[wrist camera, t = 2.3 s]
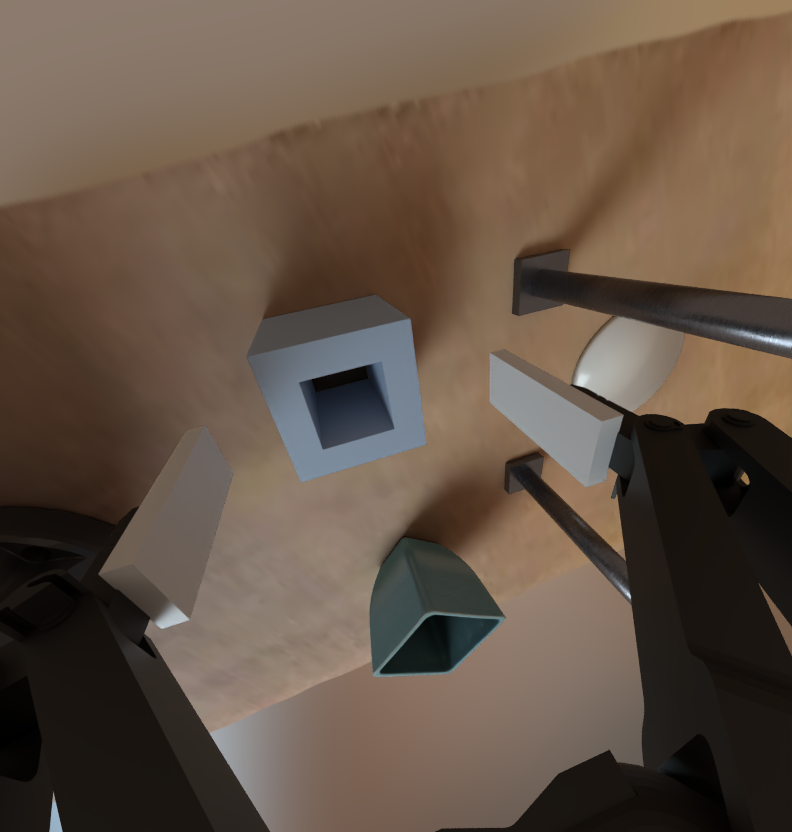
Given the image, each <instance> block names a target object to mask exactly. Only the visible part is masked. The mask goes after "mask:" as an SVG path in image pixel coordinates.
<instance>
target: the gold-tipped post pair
mask: <svg viewBox="0 0 792 832" xmlns="http://www.w3.org/2000/svg"><path fill="white" fill-rule="evenodd" d="M569 254H570V249H560V250H555V251H550V252H546V253H541V254H537V255H532V256H527V257H523V258H518V259H515V262H514V285H513V307H512V314H515V315H518V316H521V315H525V314H529V313H533V312H537V311H541V310H545V309H549V308H553V307H557V306H561V305H563V304H568V305H572V306H576V307H580V308H584V309H588V310H592V311H596V312H601V313H605V314H609V315H613V316H617V317H621V318H625V319H630V320H634V321H638V322H642V323H646V324H650V325H654V326H658V327H663V328H667V329H671V330H675V331H679V332H683V333H687V334H691V335H696V336H700V337H704V338H708V339H712V340H716V341H720V342H725V343H729V344H733V345H737V346H741V347H745V348H749V349H753V350H758V351H762V352H766V353H770V354H774V355H778V356H782V357H787V358H791V359H792V299H789V298H781V297H772V296H764V295H756V294H748V293H739V292H731V291H723V290H715V289H706V288H698V287H690V286H682V285H673V284H665V283H657V282H649V281H640V280H632V279H624V278H616V277H607V276H599V275H591V274H582V273H574V272H567V270H568V262H569ZM542 465H543V456H542V455H541V454H540V453H538V452H537V453H534V454H531V455H528V456H525V457H522V458H519V459H516V460H513V461H510V462H507V463H506V465H505V488H504V489H505V490H506V492H507V493H508V494H512V493H515V492H518V491H520V490H523V489H526V491H527V492H528V493H529V494H530V495H531V496H532V497H533V498H534V499H535V500H536V501H537V503H538V504H539V505H540V506H541V507H542V508H543V509H544V510H545V511H546V512H547V513H548V515H549V516H550V517H551V518H552V519H553V520H554V521H555V522H556V523H557V524H558V525H559V527H560V528H561V529H562V530H563V531H564V532H565V533H566V534H567V535H568V536H569V538H570V539H571V540H572V541H573V542H574V543H575V544H576V545H577V546H578V547H579V548H580V550H581V551H582V552H583V553H584V554H585V555H586V556H587V557H588V558H589V559H590V560H591V562H593V564H594V565H595V566H596V567H597V568H598V569H599V570H600V571H601V573H602V574H603V575H604V576H605V577H606V578H607V579H608V580H609V581H610V582H611V583H612V585H613V586H614V587H615V588H616V589H617V590H618V591H619V592H620V593H621V594H622V595H623V596H624V597H625V599H626V600H627V601H628V602H629V603H630V604H631V596H630V588H629V580H628V573H627V565H626V561H625V560H624V559H623V558H622V557H621V556H620V555H619V554H618V553H617V552H616V551H615V550H614V549H613V548H612V547H611V546H610V545H609V544H608V543H607V542H606V541H605V540H604V539H603V538H602V537H601V536H600V535H599V534H598V533H597V532H596V531H595V530H594V529H592V528H591V527H590V526H589V525H588V524H587V523H586V522H585V521H584V520H583V519H582V518H581V517H580V516H579V515H578V514H577V513H576V512H575V511H574V510H573V509H572V508H571V507H570V506H569V505H568V504H567V503H566V502H565V501H564V500H563V499H562V498H561V497H560V496H559V495H558V494H557V493H556V492H555V491H554V490H553V489H552V488H551V487H550V486H549V485H548V484H546V483H545V482H544V481H543V480H542V479H541V473H542ZM631 605H632V604H631Z"/></svg>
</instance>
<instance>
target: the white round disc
mask: <svg viewBox="0 0 792 832" xmlns="http://www.w3.org/2000/svg"><path fill="white" fill-rule="evenodd" d="M683 341H684V333H683V332H679V331H675V330H671V329H667V328H663V327H658V326H654V325H650V324H646V323H642V322H638V321H634V320H630V319H625V318H621V317H617V316H614V317H613V318H611V319H610V320H609V321H608V322H607V323H606V324H605V325H603V326H602V327H601V329H600V330H599V331H598V332H597V333H596V334H595V335H594V337H593V338H592V339H591V340H590V342H589V343H588V345H587V346H586V348H585V349H584V351H583V353H582V355H581V356H580V359H579V361H578V363H577V366H576V368H575V371H574V375H573V380H572V384H573V385H577V386H580V387H584V388H587V389H589V390H591V391H593V392H595V393H596V394H597V395H600V396H602V397H604V398H606V400H610V401H612V402H613V403H615V404H617V405H619V406H621V407H623V408H625V409H627V410H629V411H630V412H632V411H634V410H635V409H637V408H638V407H640V406H641V405H642V404H644V403H645V402H646V401H647V400H648V399H649V398H650V397H652V396H653V395H654V394H655V393H656V391H657V390H658V389H659V388H660V387H661V386H662V384H663V383H664V382H665V381H666V379H667V378H668V376H669V375H670V373H671V371H672V370H673V368H674V366H675V364H676V362H677V360H678V358H679V355H680V353H681V349H682V346H683Z"/></svg>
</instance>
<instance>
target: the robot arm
mask: <svg viewBox="0 0 792 832" xmlns="http://www.w3.org/2000/svg"><path fill="white" fill-rule="evenodd" d="M490 403H491V404H492V405H493V406H494V407H496V408H497V409H498V410H499V411H500V412H501V413H502V414H503V415H505V416H506V417H507V418H508V419H509V420H510V421H511V422H513V423H514V424H515V425H516V426H517V427H518V428H519V429H520V430H522V431H523V432H524V433H525V434H526V435H527V436H528V437H530V438H531V439H532V440H533V441H534V442H535V443H536V444H537V445H539V446H540V447H541V448H542V449H543V450H544V451H545V452H547V453H548V454H549V455H550V456H551V457H552V458H553V459H554V460H556V461H557V462H558V463H559V464H560V465H561V466H562V467H564V468H565V469H566V470H567V471H568V472H569V473H570V474H571V475H573V476H574V477H575V478H576V479H577V480H578V481H579V482H581V483H582V484H583V485H584V486H585V487H589V486H592V485H595V484H598V483H601V482H604V481H605V480H606V477H607V473H608V469H609V468H611V469H612V470H613V471H615V472H616V473H617V474H618V476H617V479H616V482H615V486H614V489H613V492H612V496H611V498H613V499H615V497H616V494H617V495H618V503H619V511H620V519H621V526H622V534H623V542H624V550H625V557H626V565H627V573H628V580H629V588H630V596H631V604H632V611H633V619H634V626H635V634H636V642H637V650H638V658H639V665H640V673H641V681H642V689H643V696H644V721H643V727H642V753H643V763H644V767H642V766H639V765H633V764H627V763H617V762H616V760H615V758H614V756H613V755H612V753H611V751H610V750H608V751H606V752H604V753H602V754H599V755H597V756H595V757H593V758H591V759H589V760H587V761H585V762H582V763H581V764H578V765H576V766H574V767H572V768H570V769H568V770H565V771H564V772H561V773H559V774H558V775H557V776H556V777H555V778H554V779H553V780H552V782H551V783H550V784H549V785H548V786H547V788H546V789H545V790H544V791H543V792H542V793H541V794H540V795H539V797H538V798H537V799H536V800H535V801H534V802H533V804H532V805H531V806H530V807H529V808H528V809H527V811H526V812H525V813H524V814H523V815H522V816H521V817H520V818H519V820H518V821H517V822H516V823H515V824H514V825H512V826H510V827H507V828H457V829H456V828H453V829H452V828H451V829H440V830H438V831H436V832H792V656H791V653H790V651H789V649H788V647H787V645H786V643H785V640H784V638H783V636H782V634H781V632H780V629H779V627H778V625H777V623H776V621H775V618H774V616H773V614H772V612H771V610H770V608H769V605H768V603H767V601H766V599H765V597H764V595H763V592H762V590H761V588H760V586H759V584H760V585H761V586H762V588H763V589H764V591H765V592H766V593H767V595H768V596H769V597H770V599H771V600H772V601H773V602H774V604H775V605H776V606H777V608H778V609H779V610H780V612H781V613H782V614H783V616H784V617H785V618H786V619H787V621H788V622H789V623H790V625H791V626H792V438H791V437H789V436H788V435H787V434H785V433H784V432H783V431H781V430H780V429H778V428H777V427H776V426H774V425H773V424H772V423H770V422H769V421H767V420H766V419H764V418H762V417H761V416H759V415H756V414H753V413H750V412H748V411H745V410H740V409H728V408H722V409H715V410H712V411H710V412H709V414H708V416H707V419H706V421H705V423H702V424H687V425H684V424H683V423H682V422H680V421H678V420H676V419H674V418H671V417H668V416H663V415H657V414H645V415H641V416H638V415H636V414H634V413H632V412H630V411H629V410H627V409H625V408H623V407H621V406H619V405H617V404H615V403H613V402H612V401H610V400H606V398H604V397H602V396H600V395H597V394H596V393H595V392H593V391H591V390H589V389H587V388H584V387H580V386H577V385H573V384H571V385H568V384H567V383H565V382H563V381H561V380H559V379H558V378H556V377H554V376H552V375H550V374H549V373H547V372H545V371H543V370H541V369H540V368H538V367H536V366H534V365H532V364H530V363H529V362H527V361H525V360H523V359H521V358H520V357H518V356H516V355H514V354H512V353H511V352H509V351H507V350H505V349H503V350H499V351H495V352H491V353H490ZM744 472H745V473H746V474H747V476H748V478H749V481H750V484H749V485H747V484H745V483H744V482H743V481H742V479H741V477H742V475H743V473H744ZM232 477H233V472H232V470H231V468H230V466H229V465H228V463H227V461H226V460H225V458H224V456H223V454H222V453H221V451H220V449H219V448H218V446H217V444H216V442H215V441H214V439H213V437H212V435H211V434H210V432H209V430H208V429H207V427H206V425H204V426H200V427H196V428H192V429H188V430H186V432H185V433H184V435H183V437H182V438H181V440H180V441H179V443H178V445H177V446H176V448H175V450H174V451H173V453H172V454H171V456H170V458H169V459H168V461H167V463H166V464H165V466H164V468H163V469H162V471H161V472H160V474H159V476H158V477H157V479H156V481H155V482H154V484H153V486H152V487H151V489H150V490H149V492H148V494H147V495H146V497H145V499H144V500H143V502H142V503H141V505H140V507H136V508H133V509H132V510H131V511H130V512H129V513H128V514H127V515H126V516H125V517H124V518H123V519H122V520H121V521H119V523H118V524H117V526H116V527H113V526H111V525H109V524H106V523H103V522H101V521H98V520H95V519H92V518H88V517H85V516H81V515H77V514H73V513H67V512H62V511H56V510H49V509H40V508H27V507H0V832H49V829H50V819H51V808H52V799H53V791H54V796H55V800H56V804H57V808H58V813H59V817H60V822H61V826H62V831H63V832H270V831H269V829H268V828H267V826H266V824H265V823H264V821H263V820H262V818H261V816H260V815H259V813H258V811H257V810H256V808H255V807H254V805H253V803H252V802H251V800H250V799H249V797H248V795H247V794H246V792H245V791H244V789H243V787H242V786H241V784H240V782H239V781H238V779H237V778H236V776H235V775H234V773H233V771H232V769H231V768H230V766H229V765H228V764H227V761H226V760H225V758H224V757H223V755H222V753H221V752H220V751H219V749H218V747H217V745H216V744H215V742H214V740H213V739H212V737H211V736H210V734H209V732H208V731H207V729H206V727H205V726H204V724H203V723H202V721H201V719H200V718H199V716H198V715H197V713H196V711H195V710H194V708H193V706H192V705H191V703H190V702H189V700H188V698H187V697H186V695H185V694H184V692H183V690H182V689H181V687H180V686H179V684H178V682H177V681H176V679H175V677H174V676H173V674H172V673H171V671H170V669H169V668H168V666H167V665H166V663H165V661H164V660H163V658H162V656H161V655H160V653H159V652H158V650H157V648H156V647H155V645H154V644H153V642H152V640H151V639H150V638H149V637H148V636H146V635H145V634H144V632H145V630H146V627H147V625H148V622H149V620H150V619H151V620H152V621H153V622H154V623H155V624H156V625H158V626H159V627H160V628H161V629H164V628H167V627H170V626H173V625H176V624H179V623H182V622H185V621H188V620H190V617H191V614H192V611H193V607H194V604H195V601H196V597H197V594H198V591H199V587H200V584H201V581H202V577H203V574H204V570H205V567H206V564H207V560H208V557H209V554H210V550H211V547H212V544H213V540H214V537H215V534H216V530H217V527H218V524H219V520H220V517H221V514H222V510H223V507H224V504H225V500H226V497H227V494H228V490H229V487H230V484H231V480H232Z"/></svg>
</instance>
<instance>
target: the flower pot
mask: <svg viewBox="0 0 792 832" xmlns="http://www.w3.org/2000/svg"><path fill="white" fill-rule="evenodd" d="M505 618H506V617H505V616H504V614H503V613H502V611H501V610H500V608H499V607H498V605H497V604H496V602H495V601H494V600H493V598H492V597H491V595H490V594H489V592H488V591H487V589H486V588H485V586H484V585H483V584H482V582H481V581H480V579H479V578H478V577H477V575H476V574H475V573H474V571H473V570H472V569H471V568H470V567H469V566H468V564H467V563H465V562H464V561H463V560H462V559H461V558H460V557H458V556H457V555H456V554H454V553H453V552H452V551H450V550H448V549H447V548H445V547H443V546H442V545H440V544H436V543H431V542H426V541H421V540H417V539H412V538H407V537H406V538H402V539H401V540H400V542H399V543H398V544H397V546H396V547H395V549H394V550H393V551H392V553H391V554H390V555H389V557H388V558H387V559H386V561H385V562H384V563H383V565H382V566H381V568H380V570H379V572H378V575H377V578H376V581H375V584H374V588H373V592H372V596H371V603H370V636H371V653H372V666H373V667H372V668H373V676H374V677H389V676H411V675H413V676H414V675H434V674H437V675H438V674H448V673H451V672H452V671H453V670H455V669H456V668H457V667H458V666H459V665H460V664H461V663H462V662H463V661H464V660H465V659H466V658H467V657H468V656H469V655H470V654H471V653H472V652H473V651H474V650H475V649H476V648H477V647H478V646H479V645H480V644H481V642H483V641H484V640H485V639H486V638H487V637H488V636H489V635H490V634H491V633H492V632H493V631H494V630H495V629H497V628H498V627H499V626H500V624H501V623H502V622H503V621H504V619H505Z"/></svg>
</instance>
